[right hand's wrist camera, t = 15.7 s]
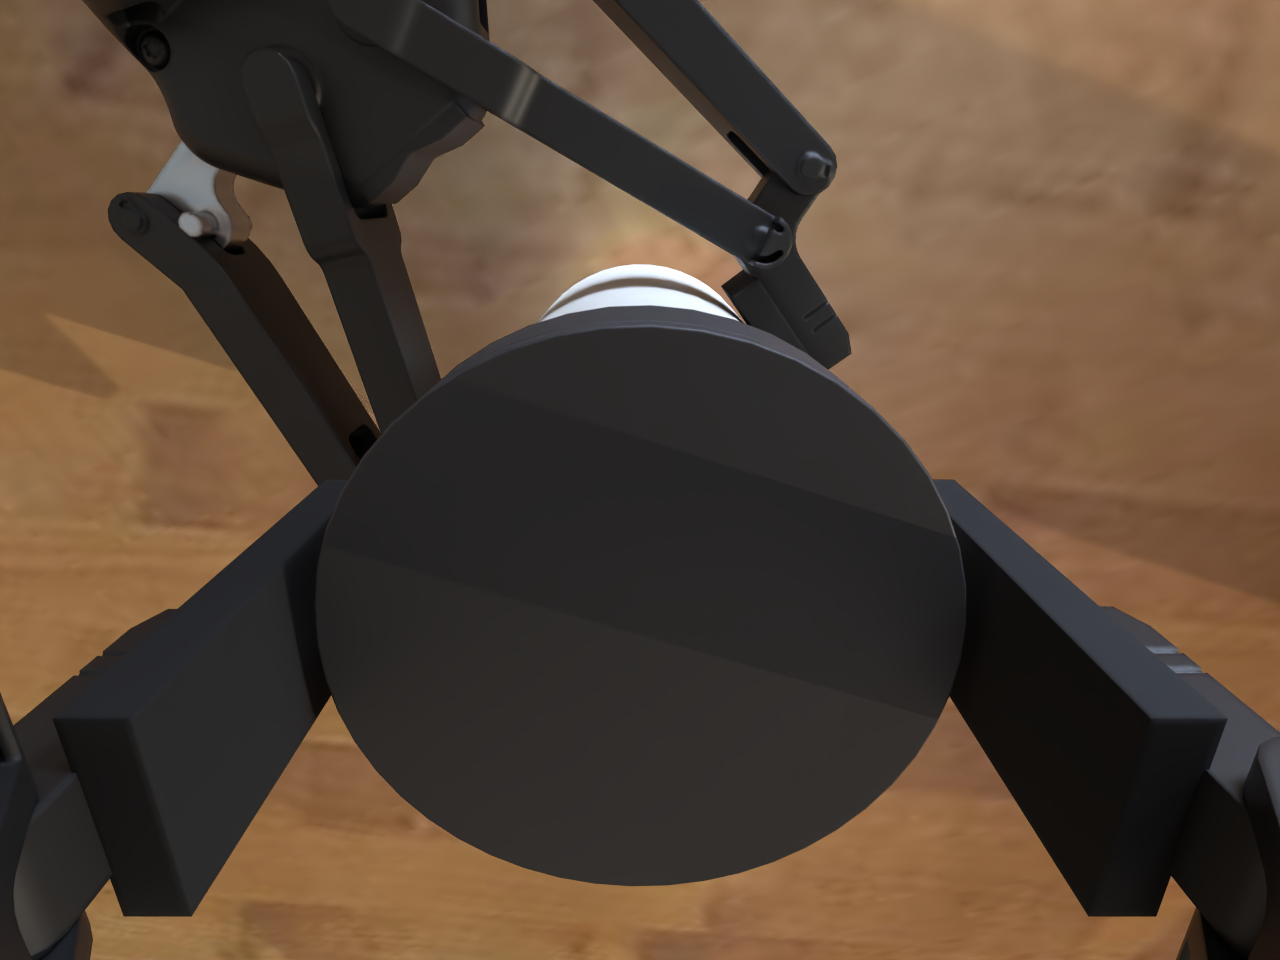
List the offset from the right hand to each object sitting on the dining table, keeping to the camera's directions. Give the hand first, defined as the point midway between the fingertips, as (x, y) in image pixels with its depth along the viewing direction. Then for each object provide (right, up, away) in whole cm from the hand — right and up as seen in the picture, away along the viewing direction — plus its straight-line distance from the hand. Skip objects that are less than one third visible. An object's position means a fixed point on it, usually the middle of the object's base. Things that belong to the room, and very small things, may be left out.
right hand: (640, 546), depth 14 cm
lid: (0, -1, -3) cm, 3 cm away
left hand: (+3, -1, +8) cm, 8 cm away
